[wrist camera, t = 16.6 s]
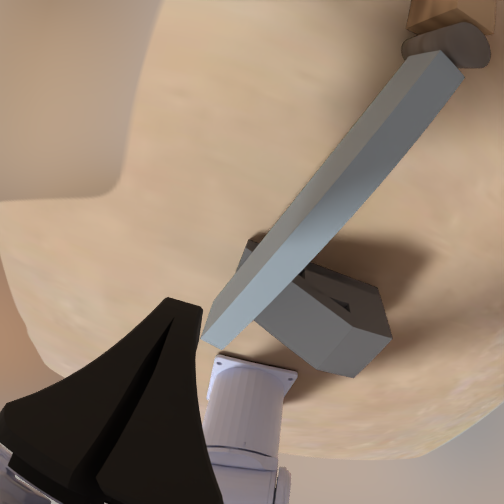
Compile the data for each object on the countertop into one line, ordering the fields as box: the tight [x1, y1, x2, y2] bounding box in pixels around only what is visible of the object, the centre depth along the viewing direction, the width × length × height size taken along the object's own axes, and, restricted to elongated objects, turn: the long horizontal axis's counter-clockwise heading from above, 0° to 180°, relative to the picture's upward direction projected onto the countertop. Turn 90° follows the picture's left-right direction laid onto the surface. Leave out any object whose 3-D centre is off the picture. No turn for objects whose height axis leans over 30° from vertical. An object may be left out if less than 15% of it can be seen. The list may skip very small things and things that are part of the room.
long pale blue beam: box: [200, 50, 465, 350], centre depth 13 cm, size 19×2×4 cm, turn 147°
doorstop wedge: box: [236, 240, 393, 378], centre depth 18 cm, size 10×4×5 cm, turn 71°
